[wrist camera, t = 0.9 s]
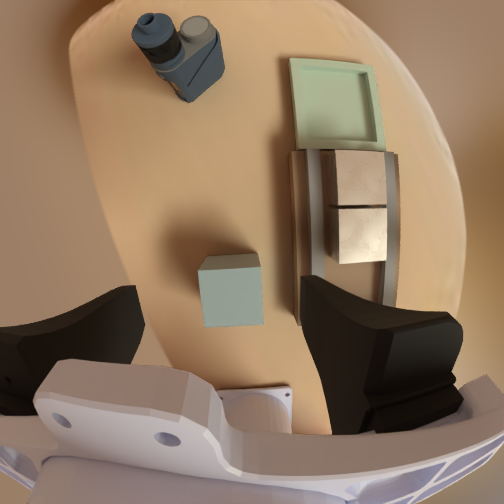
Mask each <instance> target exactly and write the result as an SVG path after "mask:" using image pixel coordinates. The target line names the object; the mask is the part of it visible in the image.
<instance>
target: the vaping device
mask: <svg viewBox="0 0 504 504" xmlns="http://www.w3.org/2000/svg"><path fill="white" fill-rule="evenodd" d="M132 38H133V40H134V42H135V43H136V44H137V45H138V47H139V48H140V49H141V51H142V52H143V53H144V55H145V56H146V57H147V59H148V60H149V61H150V63H151V65H152V67H153V68H154V69H155V70H156V74H157V75H158V76H160V77H161V78H162V79H164V80H166V81H168V82H169V83H170V85H171V86H172V88H173V89H174V90H175V91H176V94H177V95H178V97H179V98H180V99H182V100H184V101H187V102H188V103H190V102H193V101H194V100H195V99H196V98H197V97H199V96H200V95H201V94H202V93H203V92H204V91H205V90H207V89H208V88H209V87H210V86H211V85H213V84H214V83H215V82H216V81H217V80H219V79H220V78H221V76H222V75H223V72H224V69H225V65H224V59H223V53H222V47H221V41H220V35H219V33H218V31H217V29H216V28H215V27H214V26H213V25H212V24H211V23H210V21H209V19H207V18H206V17H204V16H192V17H190V18H188V19H186V20H185V21H183V23H182V24H181V26H180V31H179V32H177V31H176V29H175V27H174V25H173V22H172V20H171V18H170V17H169V16H168V15H166V14H162V13H156V14H153V13H147V14H144V15H142V16H141V17H140V18H139V19H138V21H137V24H136V25H135V26H134V28H133V30H132Z"/></svg>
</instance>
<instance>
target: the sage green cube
mask: <svg viewBox="0 0 504 504" xmlns="http://www.w3.org/2000/svg"><path fill="white" fill-rule="evenodd" d="M198 278H199V287H200V295H201V304H202V311H203V319H204V326H205V327H229V326H248V325H263V324H264V321H263V301H262V282H261V266H260V261H259V257H258V253H250V254H234V255H218V256H207V257H206V259H205V260H204V262H203V263H202V265H201V266H200V268H199V270H198Z"/></svg>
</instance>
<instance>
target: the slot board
mask: <svg viewBox="0 0 504 504" xmlns="http://www.w3.org/2000/svg"><path fill="white" fill-rule="evenodd" d="M330 152H332V151H320V149H306V150H305V151H291V152H290V153H289V154H288V162H289V178H290V195H291V215H292V239H293V270H294V317H295V320H296V322H297V325H298V326H301V321H300V276H306V275H317V276H319V277H321V278H323V279H325V280H326V281H328V282H330V283H332V284H334V285H336V286H338V287H339V288H341V289H343V290H345V291H347V292H349V293H352V294H354V295H356V296H358V297H361V298H363V299H366V300H369V301H372V302H375V303H378V304H382V305H386V306H390V307H396V297H397V287H398V274H399V258H400V182H399V165H398V154H394V152H387V151H382V152H384V159H385V173H386V193H387V204H375V205H333V204H329V200H328V180H327V164H326V154H328V153H330ZM340 207H380V208H387V255H386V260H383V261H372V262H360V263H347V264H338V263H337V262H336V261H334V260H333V259H332V258H330V231H329V208H340Z"/></svg>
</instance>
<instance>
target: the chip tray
mask: <svg viewBox="0 0 504 504" xmlns="http://www.w3.org/2000/svg"><path fill="white" fill-rule="evenodd" d="M288 67H289V76H290V85H291V95H292V105H293V115H294V127H295V139H296V151H305V150H306V149H320V151H334V150H357V151H376V152H382V151H386V145H385V136H384V127H383V119H382V112H381V105H380V99H379V93H378V87H377V82H376V76H375V71H374V66H371V65H365V64H358V63H350V62H342V61H332V60H320V59H304V58H290V59H289V62H288Z"/></svg>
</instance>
